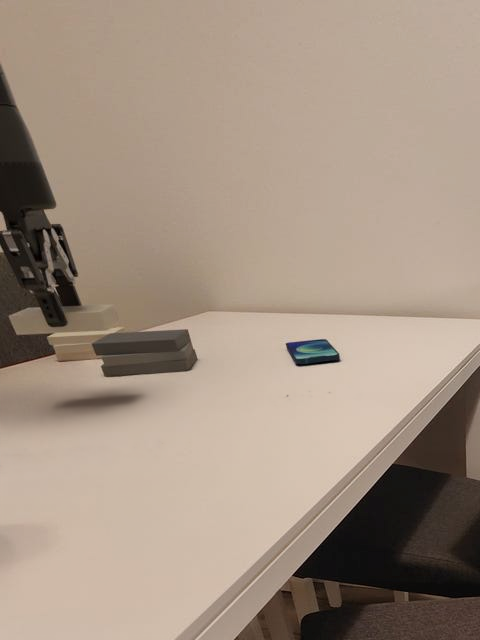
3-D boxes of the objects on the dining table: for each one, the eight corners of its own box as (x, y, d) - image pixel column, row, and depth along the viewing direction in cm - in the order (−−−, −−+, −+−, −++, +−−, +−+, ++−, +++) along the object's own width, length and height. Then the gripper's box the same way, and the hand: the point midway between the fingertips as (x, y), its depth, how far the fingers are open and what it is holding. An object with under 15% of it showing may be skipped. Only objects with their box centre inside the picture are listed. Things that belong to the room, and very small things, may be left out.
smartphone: (326, 338, 110) (340, 354, 99) (326, 343, 110) (341, 360, 99) (284, 342, 108) (294, 359, 97) (286, 348, 108) (296, 365, 97)
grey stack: (101, 377, 95) (88, 345, 92) (118, 363, 102) (107, 333, 99) (189, 371, 97) (179, 339, 94) (200, 358, 104) (191, 328, 101)
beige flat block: (16, 334, 76) (8, 315, 74) (35, 326, 80) (27, 307, 79) (107, 330, 77) (100, 311, 76) (120, 322, 82) (114, 304, 80)
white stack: (55, 362, 104) (44, 337, 102) (68, 353, 109) (59, 330, 107) (124, 357, 106) (115, 333, 103) (134, 349, 111) (126, 326, 109)
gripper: (-5, 161, 73) (58, 313, 83) (-67, 158, 62) (14, 334, 72) (60, 160, 74) (114, 311, 84) (10, 157, 63) (79, 330, 73)
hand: (67, 321), depth 78 cm, fingers closed on beige flat block, 6 cm apart
